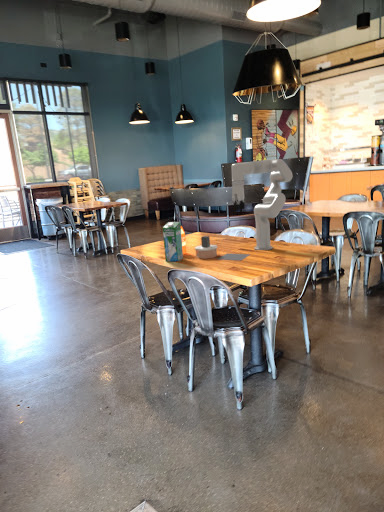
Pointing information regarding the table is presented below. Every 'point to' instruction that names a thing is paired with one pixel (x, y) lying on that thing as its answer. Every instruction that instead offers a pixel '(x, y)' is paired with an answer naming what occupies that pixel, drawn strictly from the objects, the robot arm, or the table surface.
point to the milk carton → (173, 241)
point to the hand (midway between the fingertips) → (239, 209)
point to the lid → (205, 244)
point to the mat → (234, 256)
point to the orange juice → (183, 240)
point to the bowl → (206, 254)
